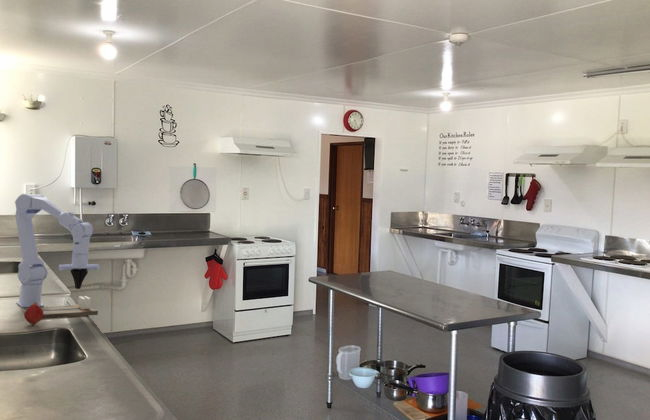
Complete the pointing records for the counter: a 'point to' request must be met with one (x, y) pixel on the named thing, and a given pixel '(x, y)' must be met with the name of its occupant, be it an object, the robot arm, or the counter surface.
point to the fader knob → (84, 302)
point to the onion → (33, 314)
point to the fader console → (67, 311)
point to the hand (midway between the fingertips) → (77, 288)
